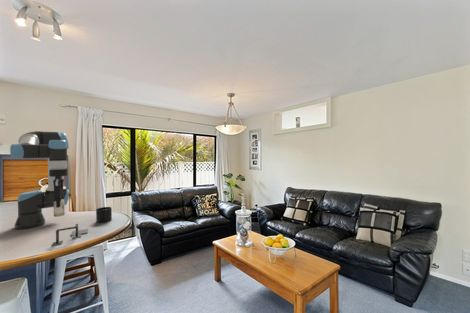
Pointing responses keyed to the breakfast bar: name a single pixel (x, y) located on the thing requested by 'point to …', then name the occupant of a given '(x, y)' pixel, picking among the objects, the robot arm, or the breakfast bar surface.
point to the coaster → (80, 232)
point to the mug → (103, 214)
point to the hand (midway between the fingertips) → (59, 212)
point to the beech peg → (62, 210)
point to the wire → (65, 229)
